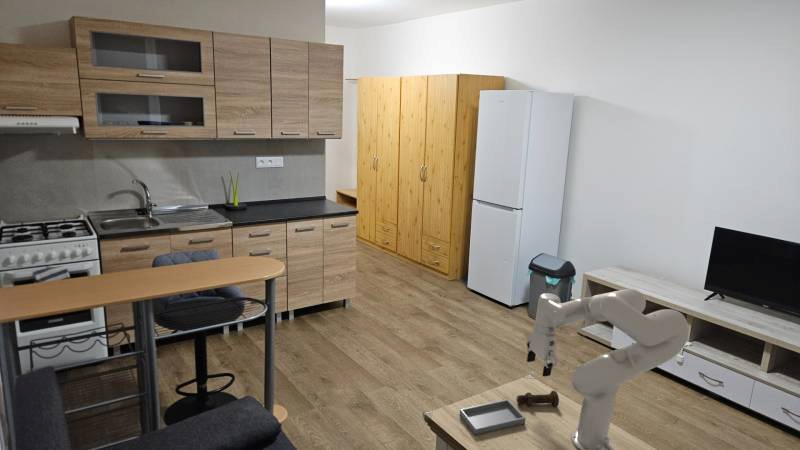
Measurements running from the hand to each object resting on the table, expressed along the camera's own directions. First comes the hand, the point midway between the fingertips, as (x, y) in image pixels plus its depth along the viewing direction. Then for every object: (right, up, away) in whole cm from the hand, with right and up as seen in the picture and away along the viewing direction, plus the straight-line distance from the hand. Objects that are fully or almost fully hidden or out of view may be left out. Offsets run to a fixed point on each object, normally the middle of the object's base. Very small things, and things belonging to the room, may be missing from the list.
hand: (538, 368), depth 194 cm
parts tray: (-19, -16, -8) cm, 26 cm away
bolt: (0, -15, +3) cm, 15 cm away
